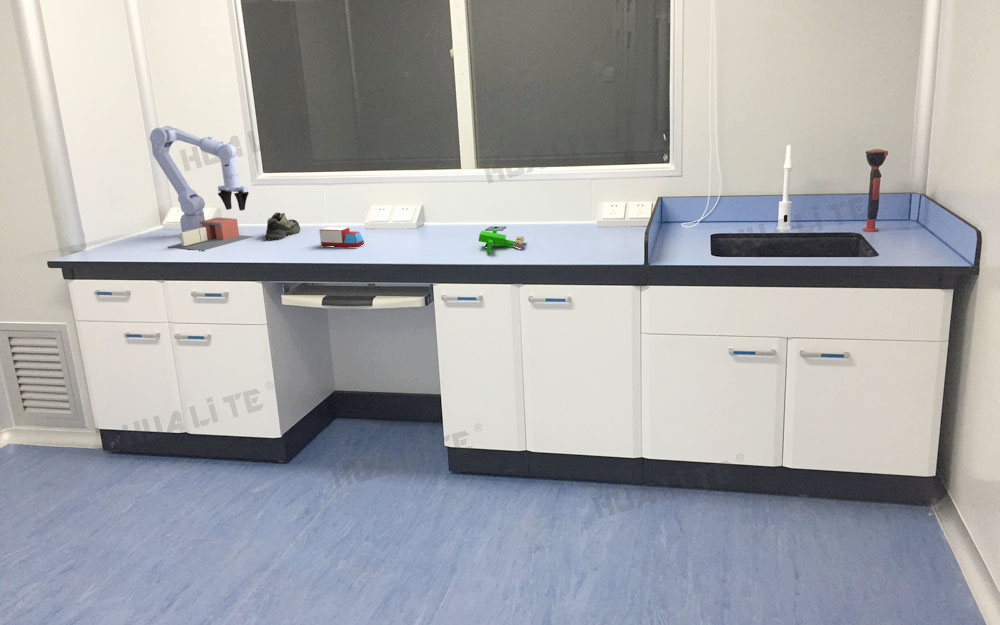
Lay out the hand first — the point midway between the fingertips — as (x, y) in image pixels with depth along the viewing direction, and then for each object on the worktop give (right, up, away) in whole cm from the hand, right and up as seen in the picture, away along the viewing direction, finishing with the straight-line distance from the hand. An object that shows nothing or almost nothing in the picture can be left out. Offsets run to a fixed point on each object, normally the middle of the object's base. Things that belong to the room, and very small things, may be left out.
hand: (235, 209), depth 325 cm
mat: (-6, -14, -11) cm, 19 cm away
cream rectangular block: (-11, -14, -14) cm, 23 cm away
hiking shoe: (+20, -11, -3) cm, 23 cm away
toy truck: (+48, -17, -29) cm, 59 cm away
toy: (+106, -19, -44) cm, 116 cm away
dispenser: (-4, -11, -3) cm, 12 cm away
